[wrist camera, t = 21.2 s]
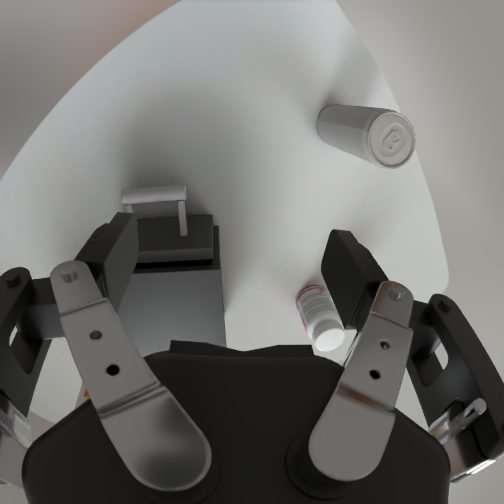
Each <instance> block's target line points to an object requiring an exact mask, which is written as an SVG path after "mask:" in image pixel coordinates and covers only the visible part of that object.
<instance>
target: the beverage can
mask: <svg viewBox="0 0 504 504" xmlns="http://www.w3.org/2000/svg"><path fill="white" fill-rule="evenodd" d="M317 132H318V134H319V136H320V138H321V139H322V140H323V141H324V142H325V143H327V144H329V145H331V146H334V147H336V148H338V149H341V150H343V151H345V152H348V153H350V154H352V155H355V156H357V157H359V158H361V159H364V160H366V161H368V162H370V163H372V164H374V165H377V166H379V167H382V168H390V169H394V168H399V167H401V166H403V165H404V164H405V163H406V162H408V161H409V159H410V158H411V156H412V154H413V152H414V149H415V142H416V141H415V133H414V129H413V127H412V125H411V123H410V122H409V120H408V119H407V118H406V117H404V116H403V115H402V114H400V113H397V112H396V111H393V110H389V109H382V108H373V107H362V106H349V105H331V106H328V107H326V108H325V109H324V110H322V112H321V113H320V115H319V118H318V121H317Z"/></svg>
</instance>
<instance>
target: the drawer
mask: <svg viewBox="0 0 504 504" xmlns="http://www.w3.org/2000/svg"><path fill="white" fill-rule="evenodd" d="M186 197H187V193H186V185H185V184H183V185H170V186H158V187H147V188H136V189H127V190H122V192H121V201H122V204H123V205H126V212H127V213H134V209H133V204H138V203H150V202H162V201H175V200H178V201H177V202H178V213H179V217H170V218H157V219H143V220H137V228H138V242H139V256H138V261H137V264H136V266H135V268H134V269H150V268H169V267H188V266H207V265H210V263H209V259H213V215H202V216H186V212H185V200H186Z"/></svg>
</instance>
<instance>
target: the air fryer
mask: <svg viewBox="0 0 504 504" xmlns="http://www.w3.org/2000/svg"><path fill="white" fill-rule="evenodd" d="M209 263H210V265H207V266H188V267H169V268H150V269H134V271H133V273H132V276H131V278H130V281H129V283H128V286H127V288H126V291H125V293H124V296H123V298H122V301H121V304H120V306H119V309H118V312H117V316H118V317H119V319H120V321H121V323H122V324H123V326H124V328H125V329H126V331H127V333H128V334H129V336H130V338H131V339H132V341H133V343H134V344H135V346H136V348H137V349H138V351H139V352H140V354H141V355H142V357H145V356H147V355H150V354H153V353H156V352H161V351H166V350H169V348H170V342H171V340H180V341H193V342H206V343H210V344H214V345H218V346H222V347H226V334H225V321H224V307H223V293H222V278H221V262H220V244H219V226H213V259H209ZM226 348H227V347H226Z"/></svg>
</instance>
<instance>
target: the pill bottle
mask: <svg viewBox="0 0 504 504" xmlns="http://www.w3.org/2000/svg"><path fill="white" fill-rule="evenodd" d="M296 306H297V309H298V311H299V314H300V316H301V319H302V322H303V324H304V327H305V330H306V332H307V335H308V336H309V337H310V338H311V339H312V341H313V343H314V345H315V347H316V348H317V349H318V350H320V351H330V350H333V349H335V348H337V347H338V346H340V345H341V344H342V343H343V341H344V339H345V332H344V329H343V328H342V322H341V319H340V317H339V314H338V312H337V309H336V308H335V306H334V304H333V302H332V300H331V298H330V296H329V294H328V293H327V291H326V290H325V289H324V288H322V287H320V286H311V287H308V288H306V289H304V290H303V291H302V292H301V293H300V294H299V295H298V297H297V299H296Z"/></svg>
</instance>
